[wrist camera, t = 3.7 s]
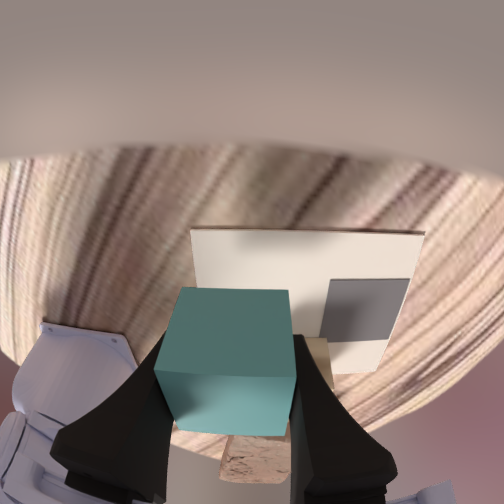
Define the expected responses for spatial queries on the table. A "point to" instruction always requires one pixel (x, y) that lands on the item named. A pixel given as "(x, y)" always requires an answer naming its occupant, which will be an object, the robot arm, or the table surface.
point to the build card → (319, 282)
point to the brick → (256, 458)
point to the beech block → (321, 358)
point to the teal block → (229, 361)
